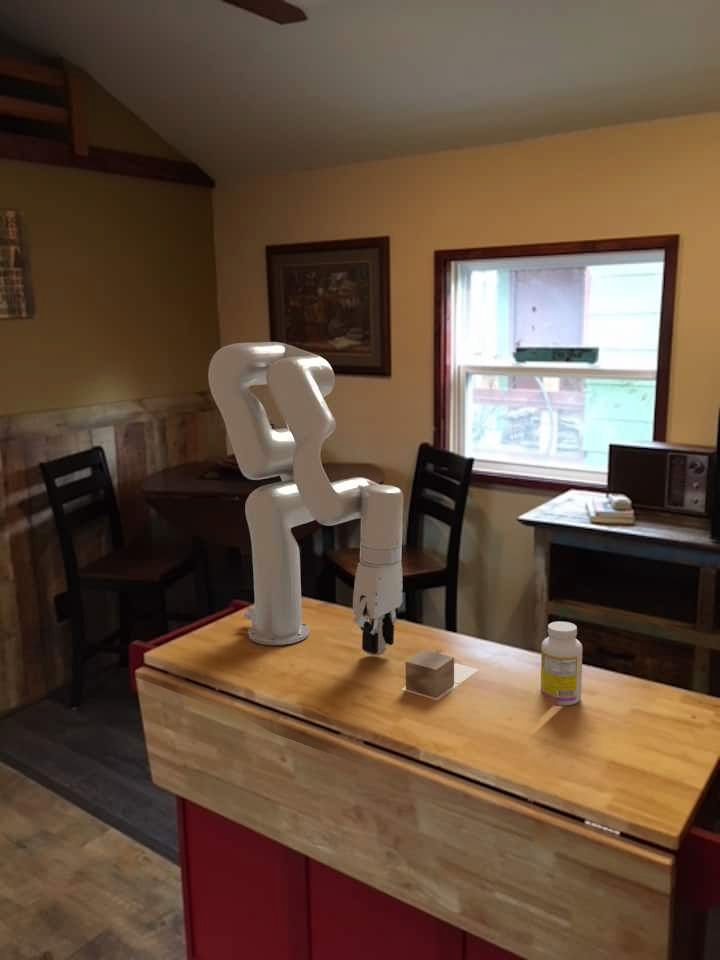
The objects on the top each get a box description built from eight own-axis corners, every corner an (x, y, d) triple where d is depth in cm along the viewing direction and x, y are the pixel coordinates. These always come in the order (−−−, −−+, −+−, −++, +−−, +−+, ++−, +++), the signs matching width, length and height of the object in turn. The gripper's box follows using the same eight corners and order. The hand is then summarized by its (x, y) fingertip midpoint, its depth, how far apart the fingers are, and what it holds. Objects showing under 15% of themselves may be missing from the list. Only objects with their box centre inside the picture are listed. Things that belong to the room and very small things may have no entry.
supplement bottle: (554, 686, 141) (556, 616, 138) (588, 697, 136) (591, 625, 134) (532, 698, 136) (534, 626, 134) (567, 711, 132) (569, 636, 129)
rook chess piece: (384, 657, 148) (386, 616, 147) (360, 654, 149) (362, 613, 147) (387, 647, 153) (389, 607, 151) (364, 644, 153) (366, 605, 152)
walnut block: (405, 689, 138) (405, 661, 137) (424, 676, 142) (424, 649, 141) (436, 697, 134) (436, 669, 133) (454, 684, 139) (454, 657, 138)
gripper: (389, 539, 155) (386, 628, 159) (335, 560, 142) (334, 656, 146) (422, 546, 151) (419, 638, 155) (370, 569, 137) (367, 668, 141)
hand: (377, 646), depth 150 cm, fingers closed on rook chess piece, 4 cm apart
